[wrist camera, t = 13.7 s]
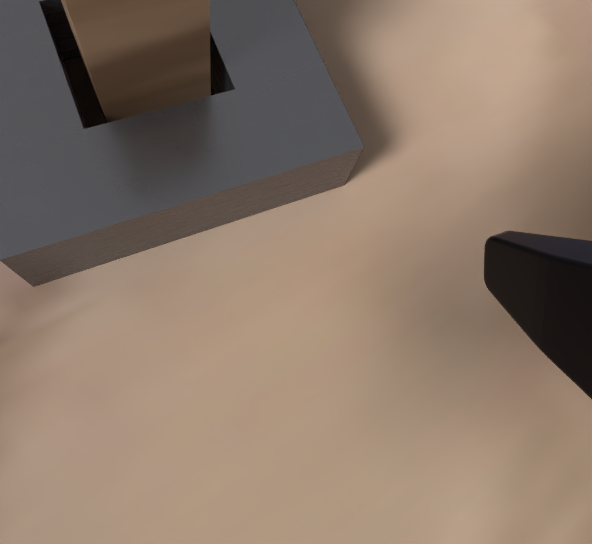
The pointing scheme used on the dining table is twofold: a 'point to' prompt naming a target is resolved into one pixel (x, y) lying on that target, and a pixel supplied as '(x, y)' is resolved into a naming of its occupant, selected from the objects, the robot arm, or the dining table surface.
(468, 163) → the dining table surface
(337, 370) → the dining table surface
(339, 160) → the hub block
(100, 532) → the dining table surface
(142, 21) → the keyed plug
